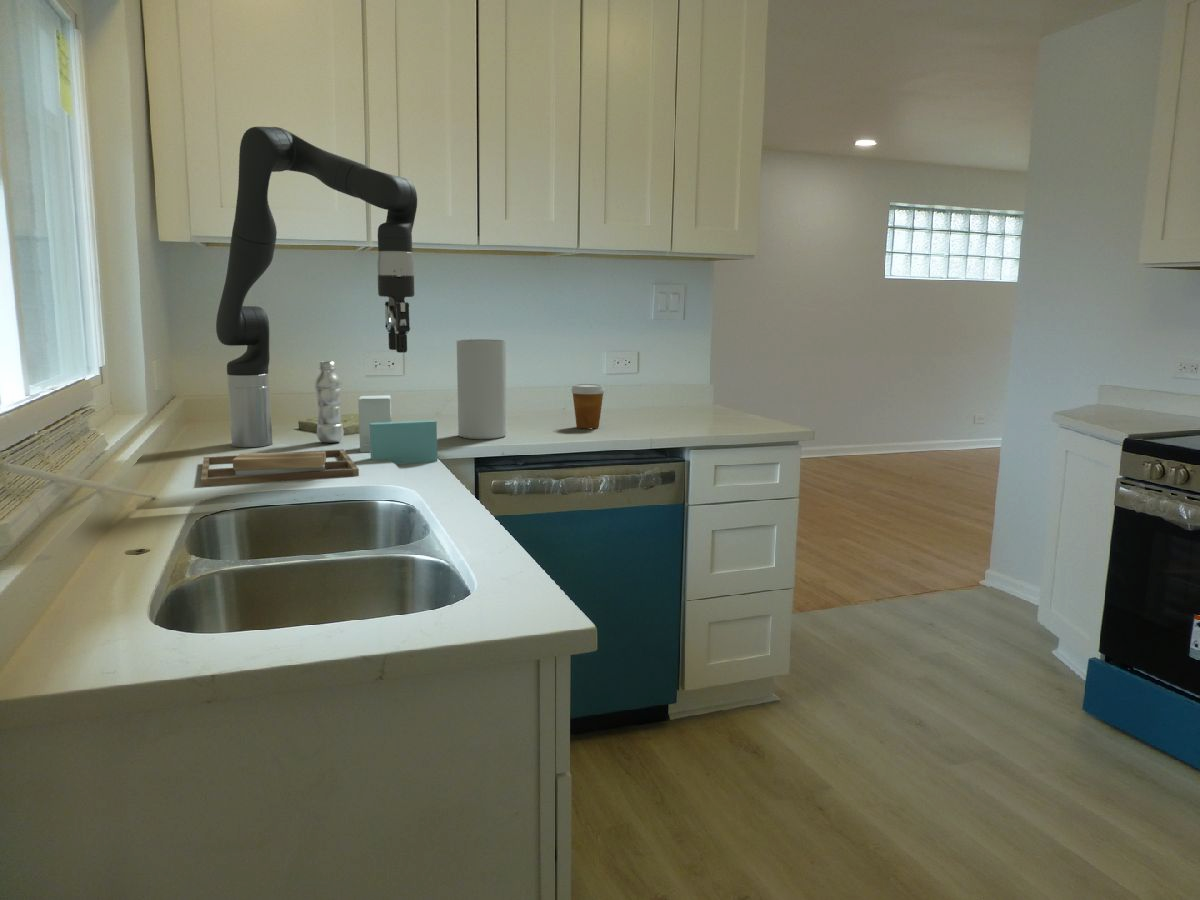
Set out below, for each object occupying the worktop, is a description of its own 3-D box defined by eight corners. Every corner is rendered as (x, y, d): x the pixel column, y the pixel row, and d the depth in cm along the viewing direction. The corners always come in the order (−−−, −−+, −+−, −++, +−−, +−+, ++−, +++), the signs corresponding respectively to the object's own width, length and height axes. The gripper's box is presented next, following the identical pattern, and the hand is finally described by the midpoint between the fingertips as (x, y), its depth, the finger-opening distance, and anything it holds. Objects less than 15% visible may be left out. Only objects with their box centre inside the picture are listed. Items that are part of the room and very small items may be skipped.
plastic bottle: (343, 439, 217) (339, 360, 213) (345, 444, 211) (341, 362, 207) (316, 441, 215) (312, 361, 211) (317, 445, 208) (313, 363, 205)
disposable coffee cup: (565, 428, 239) (566, 386, 237) (577, 424, 248) (577, 383, 246) (598, 430, 236) (598, 387, 234) (608, 426, 245) (609, 384, 243)
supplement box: (392, 451, 201) (390, 398, 198) (359, 452, 199) (357, 398, 197) (393, 446, 208) (391, 394, 206) (361, 447, 206) (359, 395, 204)
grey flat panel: (237, 475, 167) (236, 465, 166) (323, 469, 172) (322, 460, 172) (236, 482, 160) (235, 471, 160) (325, 476, 166) (325, 466, 166)
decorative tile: (339, 438, 223) (339, 424, 222) (297, 430, 235) (296, 417, 235) (397, 430, 237) (397, 417, 236) (355, 423, 249) (354, 411, 249)
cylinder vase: (516, 436, 225) (515, 340, 220) (477, 441, 216) (475, 342, 212) (487, 431, 233) (486, 338, 229) (448, 435, 225) (446, 340, 221)
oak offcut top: (240, 463, 168) (240, 453, 167) (325, 461, 171) (325, 451, 170) (233, 470, 161) (232, 459, 160) (322, 467, 164) (321, 457, 164)
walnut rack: (204, 469, 178) (203, 457, 178) (343, 460, 189) (343, 449, 189) (201, 492, 156) (200, 479, 156) (359, 481, 167) (358, 468, 167)
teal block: (370, 464, 186) (369, 423, 184) (434, 459, 191) (433, 420, 190) (372, 466, 184) (371, 424, 182) (437, 461, 189) (436, 421, 188)
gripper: (372, 274, 186) (374, 349, 188) (383, 272, 173) (385, 353, 176) (407, 275, 189) (408, 348, 191) (420, 273, 176) (422, 353, 179)
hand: (397, 351), depth 184 cm, fingers open, 8 cm apart
